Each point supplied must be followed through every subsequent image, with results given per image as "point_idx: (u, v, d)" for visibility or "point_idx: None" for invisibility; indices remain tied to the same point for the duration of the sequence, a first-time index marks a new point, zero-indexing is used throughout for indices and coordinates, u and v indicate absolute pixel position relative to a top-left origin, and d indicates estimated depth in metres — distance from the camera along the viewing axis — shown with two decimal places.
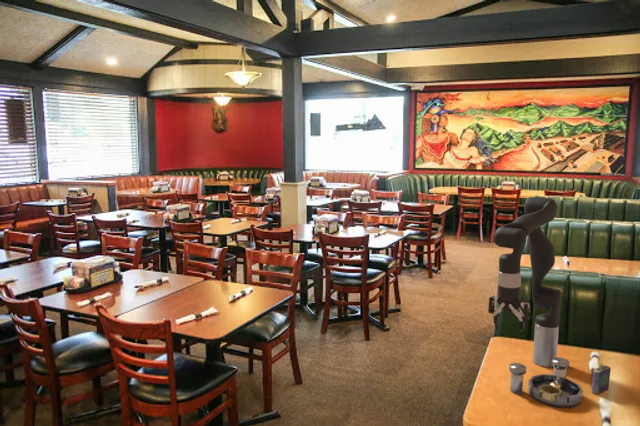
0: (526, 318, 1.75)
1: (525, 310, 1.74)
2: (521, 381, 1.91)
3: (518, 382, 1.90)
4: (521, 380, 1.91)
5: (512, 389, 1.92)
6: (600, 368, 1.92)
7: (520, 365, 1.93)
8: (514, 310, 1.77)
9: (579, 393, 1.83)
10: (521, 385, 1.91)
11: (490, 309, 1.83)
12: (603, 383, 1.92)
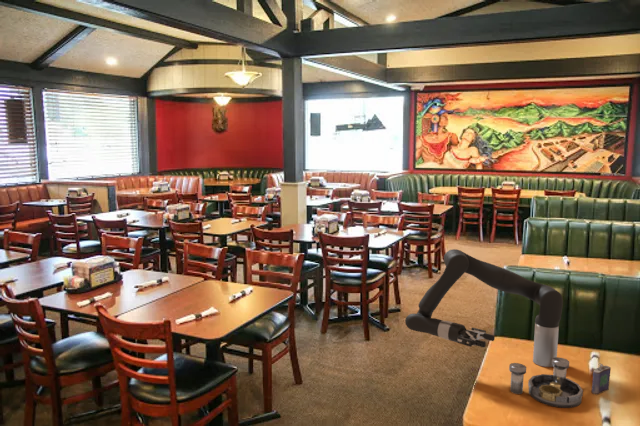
0: None
1: None
2: (521, 381, 1.91)
3: (518, 382, 1.90)
4: (521, 380, 1.91)
5: (512, 389, 1.92)
6: (600, 368, 1.92)
7: (520, 365, 1.93)
8: None
9: (579, 393, 1.83)
10: (521, 385, 1.91)
11: None
12: (603, 383, 1.92)
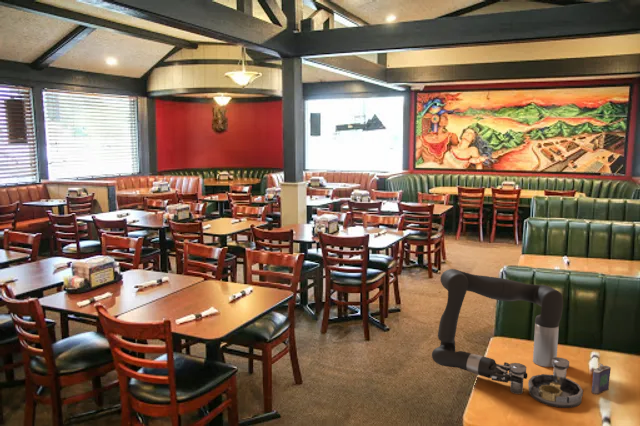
0: None
1: None
2: None
3: None
4: None
5: (512, 389, 1.92)
6: (600, 368, 1.92)
7: (520, 365, 1.93)
8: None
9: (579, 393, 1.83)
10: (521, 385, 1.91)
11: None
12: (603, 383, 1.92)
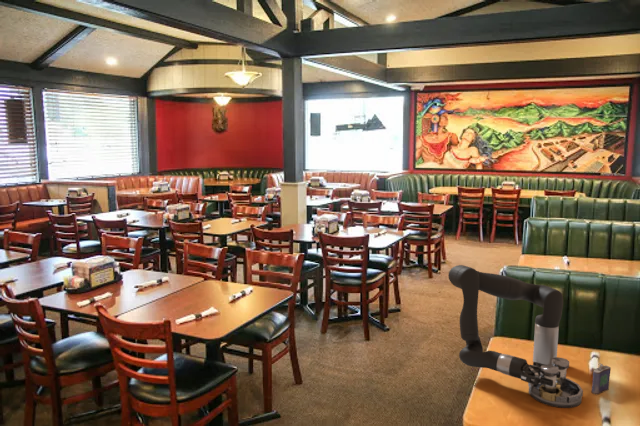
0: None
1: None
2: (554, 383, 1.84)
3: None
4: (554, 381, 1.84)
5: None
6: (600, 368, 1.92)
7: (552, 366, 1.86)
8: None
9: (579, 393, 1.83)
10: (554, 387, 1.84)
11: None
12: (603, 383, 1.92)
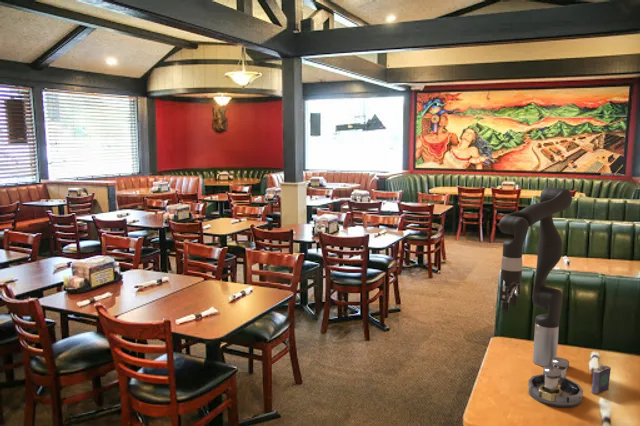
0: None
1: None
2: (556, 385, 1.83)
3: (553, 386, 1.83)
4: (556, 384, 1.83)
5: None
6: (600, 368, 1.92)
7: (554, 368, 1.85)
8: None
9: (579, 393, 1.83)
10: (556, 389, 1.84)
11: None
12: (603, 383, 1.92)
